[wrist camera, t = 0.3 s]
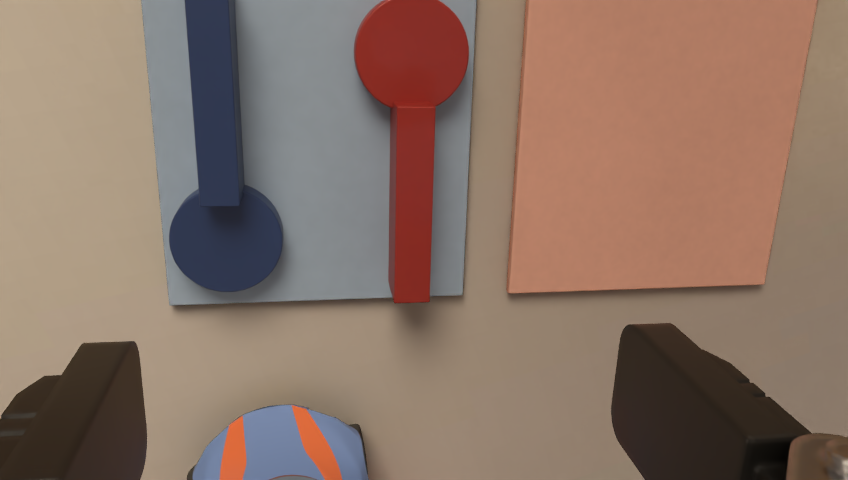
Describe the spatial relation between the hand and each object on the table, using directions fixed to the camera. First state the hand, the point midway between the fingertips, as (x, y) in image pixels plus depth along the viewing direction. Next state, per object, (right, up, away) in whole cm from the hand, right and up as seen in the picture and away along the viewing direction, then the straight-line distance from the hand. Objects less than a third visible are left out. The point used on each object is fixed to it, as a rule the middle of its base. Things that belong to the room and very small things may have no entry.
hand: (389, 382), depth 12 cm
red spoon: (0, +6, +16) cm, 18 cm away
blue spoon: (-7, +6, +15) cm, 18 cm away
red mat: (+10, +7, +18) cm, 22 cm away
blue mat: (-4, +6, +16) cm, 18 cm away
